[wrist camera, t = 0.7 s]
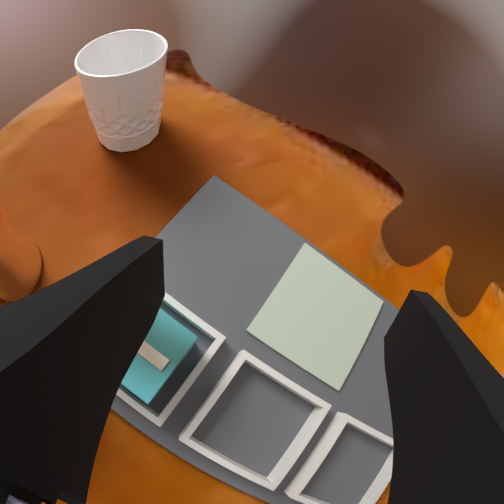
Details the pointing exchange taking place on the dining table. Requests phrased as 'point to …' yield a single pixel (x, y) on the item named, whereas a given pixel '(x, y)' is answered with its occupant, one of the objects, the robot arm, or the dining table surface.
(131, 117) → the white cup
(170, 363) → the teal letter cube
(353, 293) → the organizer board
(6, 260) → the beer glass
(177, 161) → the dining table surface
